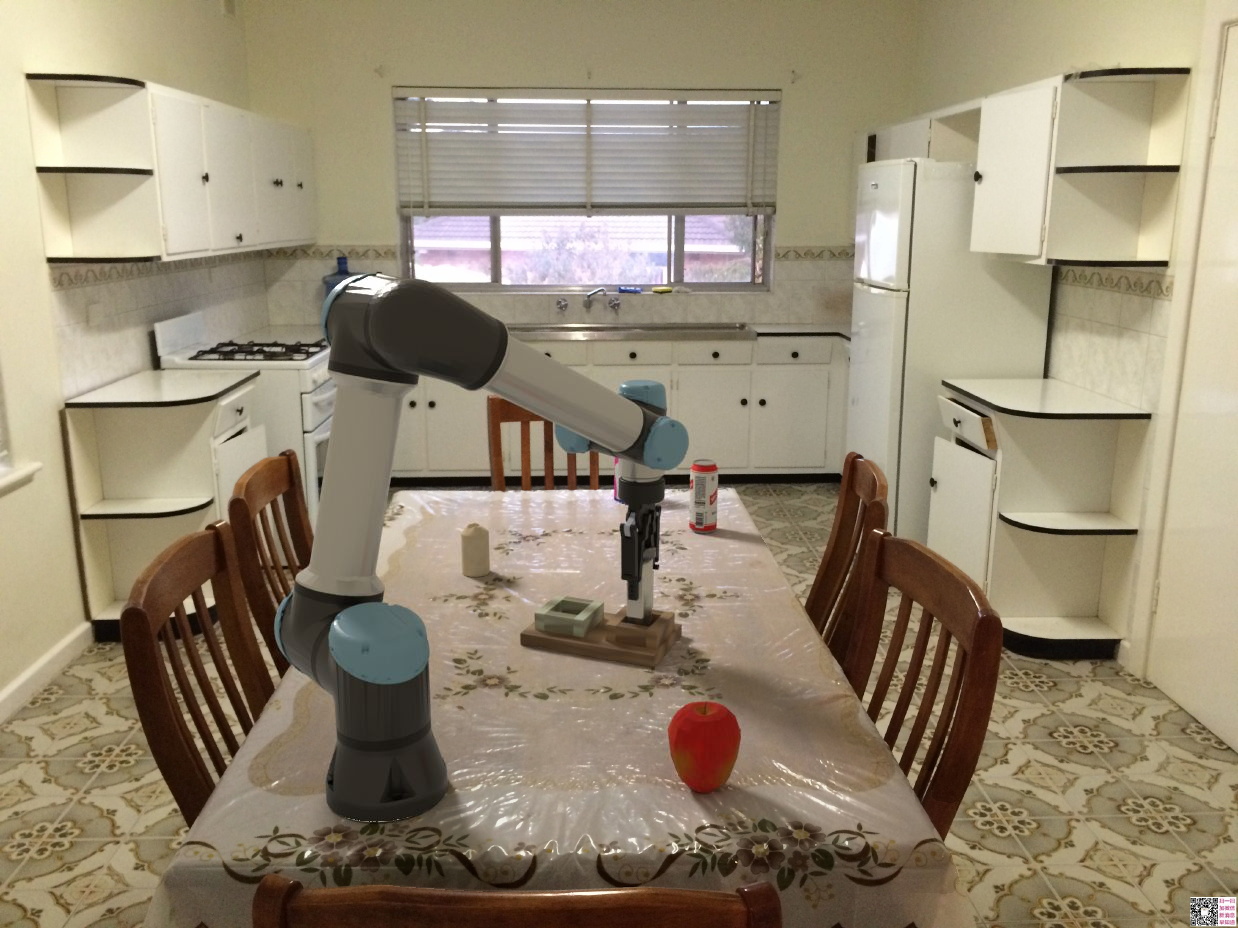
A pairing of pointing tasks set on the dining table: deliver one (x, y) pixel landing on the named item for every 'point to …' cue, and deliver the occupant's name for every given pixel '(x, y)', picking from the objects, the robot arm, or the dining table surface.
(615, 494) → the supplement box
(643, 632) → the socket board
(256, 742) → the dining table surface
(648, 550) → the lock pin
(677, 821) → the dining table surface
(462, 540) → the candle
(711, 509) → the beer can
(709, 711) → the apple
